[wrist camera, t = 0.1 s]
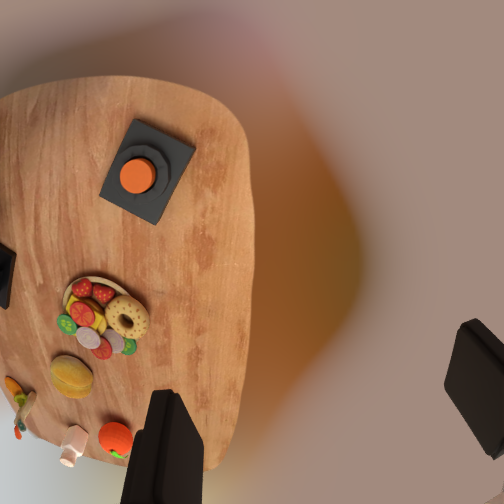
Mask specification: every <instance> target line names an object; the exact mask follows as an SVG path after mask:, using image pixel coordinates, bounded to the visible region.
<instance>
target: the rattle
mask: <svg viewBox="0 0 504 504" xmlns="http://www.w3.org/2000/svg"><path fill="white" fill-rule="evenodd" d="M5 384H6V387H7V388H8V389H9V391H10V392H11V393H12V395H13V396H14V401H15V402H17V403H19V407H20V408H19V410H18V412H17V415H16V418H15V420H14V424H15V425H16V426H15V428H14V430H15V436H16V438H17V439H21V437H22V436H21V433H20V431H22V432H24V431H26V426H25V425H24V423H23V421H24V420H25V418H26V416H27V415H28V413H29V412H30V410H31V408H32V406H33V404H34V402H35V399H36V396H37V395H36V393H34V392H33V391H31V392H30V393H29V394H28V395H26V394H25V393H24V392H23V391H22V389H21V387H20V386H19V385H18V384H17V383H16V382H15V381H14V380H13V379H11V378H9V377H6V378H5ZM19 430H20V431H19Z"/></svg>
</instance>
